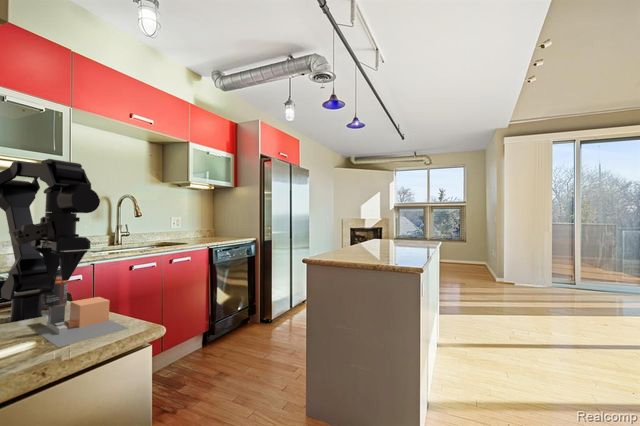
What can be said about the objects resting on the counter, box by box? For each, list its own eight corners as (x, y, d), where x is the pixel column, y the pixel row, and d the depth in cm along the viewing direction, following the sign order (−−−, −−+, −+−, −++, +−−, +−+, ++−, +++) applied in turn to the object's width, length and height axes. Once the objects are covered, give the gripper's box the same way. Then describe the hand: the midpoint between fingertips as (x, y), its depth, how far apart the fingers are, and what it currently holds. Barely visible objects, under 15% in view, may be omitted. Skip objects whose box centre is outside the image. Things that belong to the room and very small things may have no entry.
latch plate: (32, 334, 68) (33, 324, 68) (99, 319, 79) (99, 310, 79) (57, 352, 59) (58, 341, 59) (129, 332, 70) (129, 323, 70)
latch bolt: (36, 317, 71) (36, 300, 71) (49, 315, 73) (50, 298, 73) (50, 326, 66) (51, 307, 66) (64, 323, 68) (65, 305, 68)
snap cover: (61, 323, 72) (62, 302, 72) (98, 316, 78) (99, 296, 78) (71, 329, 68) (72, 307, 68) (108, 320, 75) (109, 300, 75)
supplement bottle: (64, 303, 92) (66, 266, 92) (68, 307, 88) (70, 268, 88) (37, 307, 87) (39, 268, 88) (41, 311, 83) (43, 271, 84)
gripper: (3, 211, 70) (-1, 278, 70) (27, 211, 60) (23, 289, 60) (63, 213, 80) (60, 272, 79) (92, 213, 69) (89, 281, 69)
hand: (58, 278), depth 71 cm, fingers open, 9 cm apart
